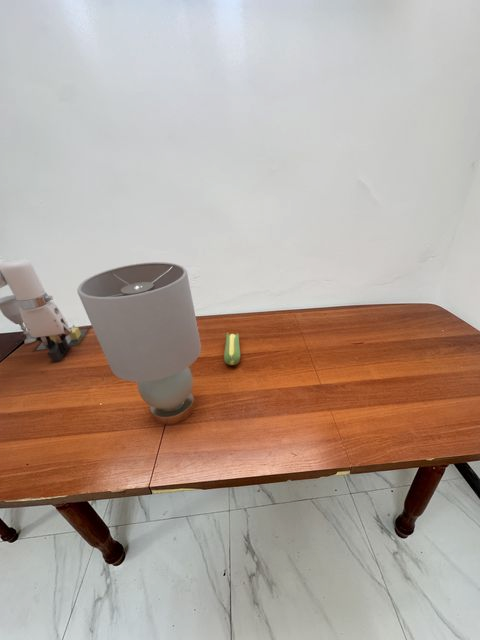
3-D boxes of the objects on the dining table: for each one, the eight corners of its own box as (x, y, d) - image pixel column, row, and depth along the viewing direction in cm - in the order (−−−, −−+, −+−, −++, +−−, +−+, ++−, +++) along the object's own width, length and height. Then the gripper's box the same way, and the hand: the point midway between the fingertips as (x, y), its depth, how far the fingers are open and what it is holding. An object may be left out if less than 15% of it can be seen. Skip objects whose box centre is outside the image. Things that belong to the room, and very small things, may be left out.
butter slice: (71, 340, 107) (68, 333, 106) (75, 334, 111) (72, 327, 109) (77, 339, 108) (74, 332, 106) (81, 334, 111) (78, 327, 109)
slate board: (37, 353, 104) (35, 350, 103) (51, 336, 113) (49, 333, 113) (79, 348, 105) (77, 344, 104) (89, 332, 115) (88, 328, 114)
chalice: (27, 350, 106) (0, 304, 96) (16, 347, 108) (-11, 302, 98) (47, 340, 111) (24, 296, 101) (36, 337, 114) (12, 293, 104)
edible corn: (224, 370, 89) (222, 358, 87) (226, 337, 106) (224, 326, 104) (241, 369, 89) (239, 356, 87) (240, 335, 106) (239, 324, 104)
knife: (52, 362, 96) (47, 352, 94) (73, 331, 112) (69, 323, 110) (59, 361, 96) (54, 351, 94) (79, 330, 112) (75, 322, 110)
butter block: (43, 343, 106) (39, 336, 104) (47, 338, 109) (44, 331, 108) (60, 341, 107) (57, 334, 105) (65, 336, 110) (61, 329, 109)
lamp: (156, 381, 86) (117, 261, 67) (222, 386, 83) (200, 261, 64) (117, 435, 70) (50, 297, 51) (196, 444, 67) (157, 299, 47)
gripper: (67, 293, 93) (88, 343, 103) (12, 299, 91) (39, 349, 101) (57, 303, 87) (81, 354, 97) (-2, 309, 85) (29, 361, 95)
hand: (60, 351), depth 99 cm, fingers closed on knife, 2 cm apart
